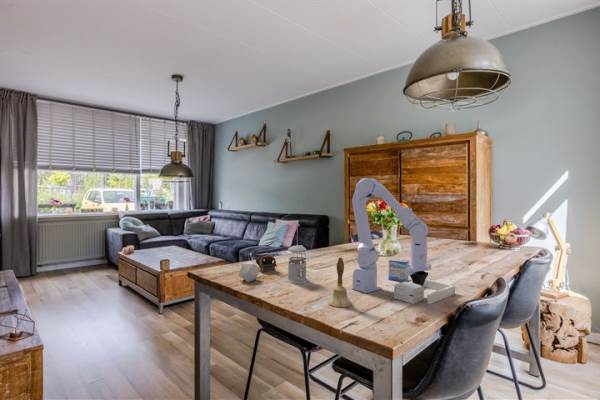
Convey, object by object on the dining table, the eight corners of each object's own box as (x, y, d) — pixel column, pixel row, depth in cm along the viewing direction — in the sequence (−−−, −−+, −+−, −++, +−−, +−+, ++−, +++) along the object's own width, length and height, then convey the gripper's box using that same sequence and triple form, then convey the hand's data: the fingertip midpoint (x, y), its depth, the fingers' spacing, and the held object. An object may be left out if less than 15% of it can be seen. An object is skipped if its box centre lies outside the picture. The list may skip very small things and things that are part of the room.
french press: (281, 282, 140) (281, 223, 139) (294, 275, 151) (294, 221, 150) (302, 284, 136) (302, 224, 135) (313, 278, 146) (313, 222, 146)
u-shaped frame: (429, 303, 113) (430, 295, 113) (395, 293, 124) (395, 286, 124) (454, 293, 125) (455, 285, 125) (421, 285, 136) (421, 278, 136)
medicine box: (388, 279, 144) (388, 260, 144) (390, 277, 148) (390, 258, 148) (406, 282, 140) (407, 262, 140) (408, 279, 144) (408, 260, 144)
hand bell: (331, 298, 119) (332, 254, 119) (354, 301, 116) (354, 256, 116) (324, 305, 112) (324, 259, 111) (348, 309, 109) (348, 261, 108)
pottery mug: (280, 270, 163) (280, 257, 159) (270, 282, 156) (270, 269, 152) (260, 261, 168) (259, 249, 163) (249, 273, 161) (248, 260, 156)
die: (261, 283, 141) (263, 262, 146) (247, 276, 135) (250, 255, 141) (247, 287, 145) (250, 266, 150) (233, 281, 139) (236, 260, 144)
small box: (393, 298, 119) (393, 284, 119) (405, 294, 124) (405, 280, 124) (412, 304, 113) (413, 289, 113) (424, 299, 118) (424, 285, 118)
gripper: (417, 259, 113) (417, 298, 114) (439, 254, 123) (438, 290, 123) (400, 256, 119) (399, 293, 119) (421, 251, 128) (421, 285, 128)
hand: (418, 291), depth 121 cm, fingers closed
